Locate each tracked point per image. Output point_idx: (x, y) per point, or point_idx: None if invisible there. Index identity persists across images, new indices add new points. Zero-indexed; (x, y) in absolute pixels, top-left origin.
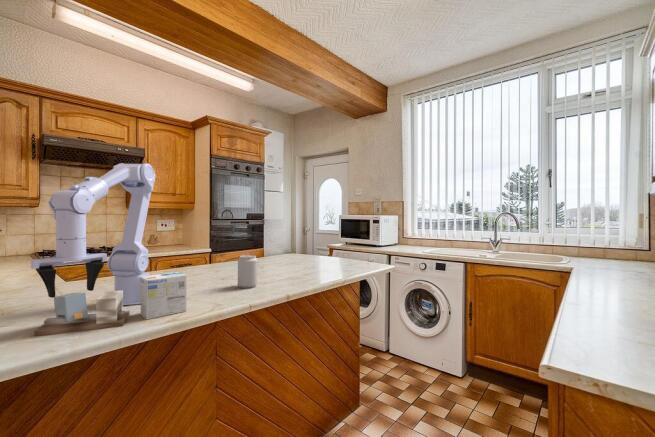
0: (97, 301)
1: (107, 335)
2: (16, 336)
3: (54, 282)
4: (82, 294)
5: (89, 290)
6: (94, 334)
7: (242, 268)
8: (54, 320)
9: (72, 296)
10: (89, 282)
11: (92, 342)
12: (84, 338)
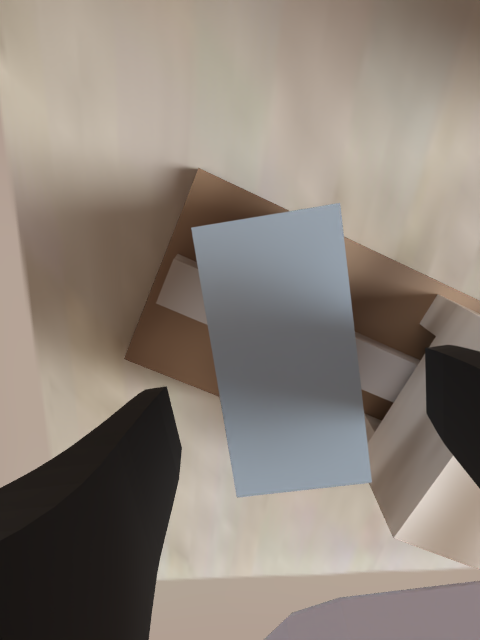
0: (394, 528)
1: (346, 532)
2: (65, 298)
3: (152, 582)
4: (348, 480)
5: (426, 398)
6: (316, 492)
7: None
8: (200, 320)
9: (283, 485)
10: (470, 430)
11: (289, 561)
12: (278, 509)
